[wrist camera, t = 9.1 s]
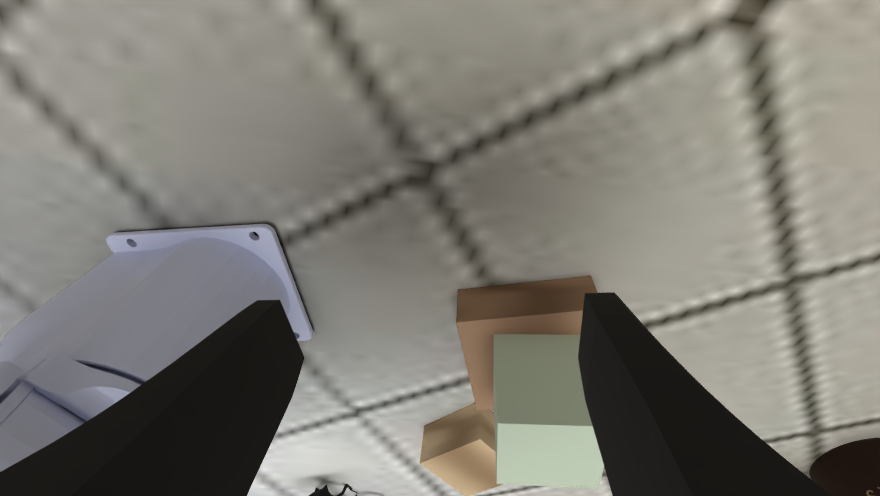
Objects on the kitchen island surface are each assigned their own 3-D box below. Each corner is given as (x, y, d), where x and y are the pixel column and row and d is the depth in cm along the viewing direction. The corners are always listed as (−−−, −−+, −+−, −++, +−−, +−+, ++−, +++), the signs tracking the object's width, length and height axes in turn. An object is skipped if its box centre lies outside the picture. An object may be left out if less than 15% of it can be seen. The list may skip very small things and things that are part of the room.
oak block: (467, 456, 31) (466, 496, 29) (424, 422, 30) (419, 463, 27) (521, 434, 29) (525, 476, 27) (479, 397, 28) (480, 439, 25)
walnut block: (477, 369, 26) (477, 410, 24) (458, 285, 23) (456, 322, 20) (589, 361, 25) (601, 403, 23) (589, 270, 21) (603, 308, 19)
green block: (493, 392, 23) (496, 483, 19) (493, 334, 20) (497, 423, 16) (575, 394, 22) (598, 488, 18) (585, 334, 20) (614, 426, 16)
